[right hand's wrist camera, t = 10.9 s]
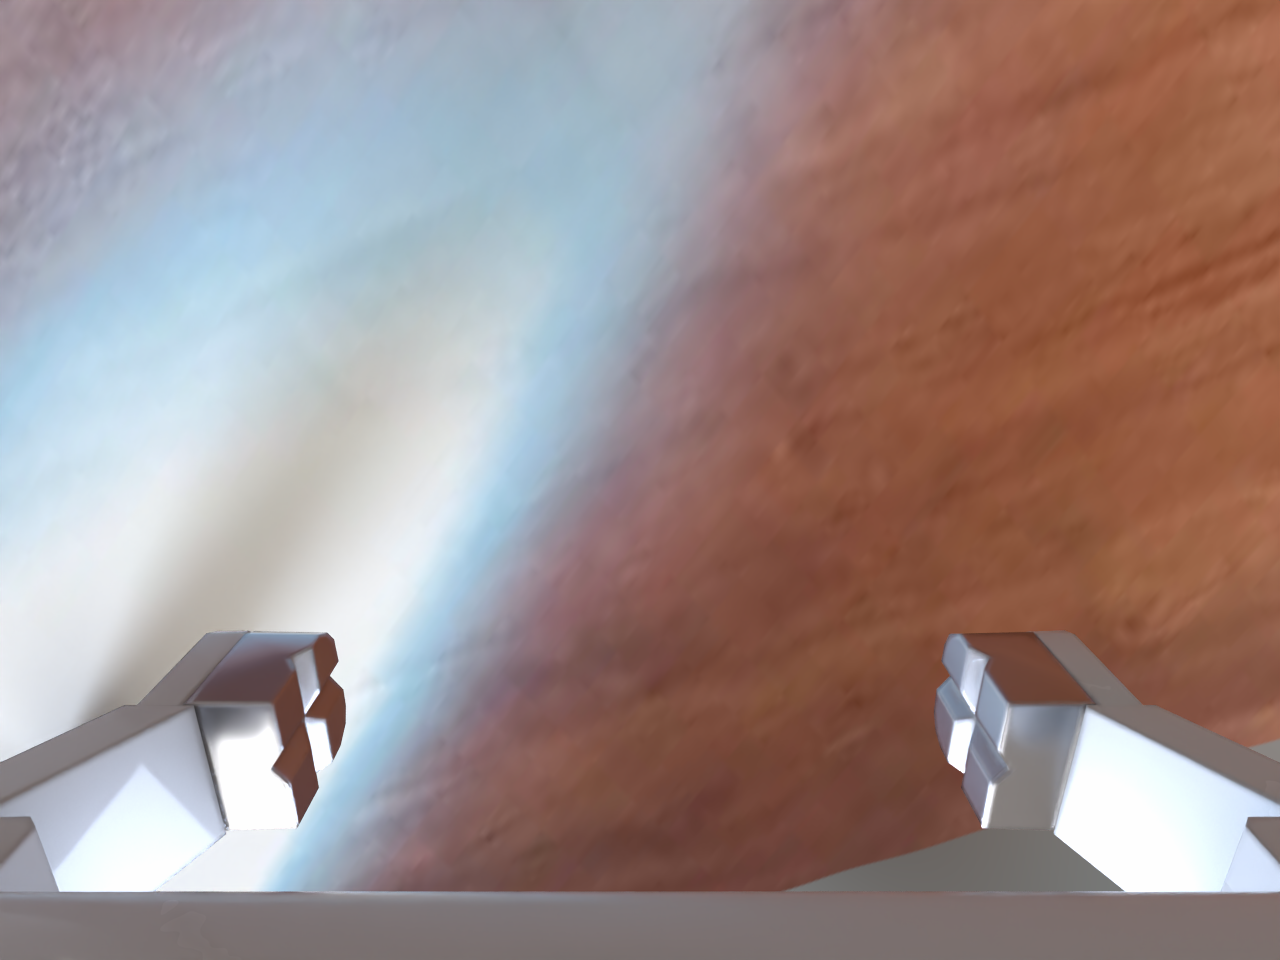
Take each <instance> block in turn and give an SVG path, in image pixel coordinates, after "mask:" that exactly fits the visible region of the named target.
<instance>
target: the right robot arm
mask: <svg viewBox="0 0 1280 960" xmlns="http://www.w3.org/2000/svg"><path fill="white" fill-rule="evenodd" d="M337 663H338V656H337V652H336V647H335V642H334V639H333V638H332V637H331V636H330V635H329V634H328V633H319V632H269V631H253V632H250V631H215V632H211V633H206V635H205V636H204V637H203V638H202V639H201V640H200V641H199V642H198V643H197V644H196V645H195V646H194V647H193V648H192V649H191V650H190V651H189V652H188V653H187V654H186V655H185V656H184V657H183V658H182V659H181V660H180V661H179V662H178V663H177V664H176V666H175V667H174V668H173V669H172V670H171V671H170V672H169V673H168V674H167V675H166V676H165V677H164V678H163V679H162V680H161V681H160V682H159V683H158V684H157V685H156V686H155V687H154V688H153V689H152V690H151V691H150V692H149V693H148V694H147V695H146V697H145V698H144V699H143V700H142V701H141V702H140V703H139V704H138V705H124V706H122V707H120V708H117V709H115V710H113V711H111V712H109V713H107V714H104V715H102V716H100V717H98V718H96V719H94V720H91V721H89V722H87V723H85V724H83V725H81V726H78V727H76V728H74V729H72V730H70V731H68V732H65V733H63V734H61V735H59V736H57V737H55V738H52V739H50V740H48V741H46V742H44V743H42V744H39V745H37V746H35V747H33V748H31V749H29V750H26V751H24V752H22V753H20V754H18V755H16V756H13V757H11V758H9V759H7V760H5V761H3V762H0V960H1280V763H1279V762H1277V761H1275V760H1273V759H1271V758H1268V757H1266V756H1264V755H1262V754H1260V753H1258V752H1255V751H1253V750H1251V749H1249V748H1247V747H1245V746H1242V745H1240V744H1238V743H1236V742H1234V741H1232V740H1230V739H1227V738H1225V737H1223V736H1221V735H1219V734H1217V733H1214V732H1212V731H1210V730H1208V729H1206V728H1204V727H1201V726H1199V725H1197V724H1195V723H1193V722H1191V721H1188V720H1186V719H1184V718H1182V717H1180V716H1178V715H1176V714H1173V713H1171V712H1169V711H1167V710H1165V709H1163V708H1160V707H1158V706H1156V705H1142V704H1141V703H1140V702H1139V701H1138V700H1137V699H1136V698H1135V696H1134V695H1133V694H1132V693H1131V692H1130V691H1129V690H1128V689H1127V688H1126V687H1125V686H1124V685H1123V684H1122V683H1121V682H1120V681H1119V680H1118V679H1117V678H1116V677H1115V676H1114V675H1113V674H1112V673H1111V672H1110V671H1109V670H1108V668H1107V667H1106V666H1105V665H1104V664H1103V663H1102V662H1101V661H1100V660H1099V659H1098V658H1097V657H1096V656H1095V655H1094V654H1093V653H1092V652H1091V651H1090V650H1089V649H1088V648H1087V647H1086V646H1085V645H1084V644H1083V643H1082V642H1081V641H1080V639H1079V638H1078V637H1077V636H1076V635H1075V634H1072V633H1070V632H1067V631H1065V630H1061V631H1035V632H1009V633H969V634H949V636H948V639H947V641H946V643H945V645H944V650H943V656H942V663H943V664H944V666H945V668H946V669H947V671H948V673H949V674H950V677H949V678H948V679H947V680H946V681H945V682H944V683H943V684H942V685H941V686H940V687H939V688H938V689H937V691H936V699H935V707H934V717H935V729H936V734H937V738H938V741H939V745H940V748H941V750H942V752H943V754H944V756H945V758H946V760H947V762H948V763H950V764H951V765H953V766H954V767H956V768H957V769H959V770H960V771H962V772H963V773H964V775H963V781H962V786H961V788H962V790H963V792H964V794H965V796H966V797H967V799H968V801H969V803H970V805H971V807H972V809H973V810H974V812H975V814H976V816H977V818H978V820H979V822H980V823H981V825H982V827H983V828H985V829H1021V830H1055V831H1054V834H1055V835H1056V836H1057V837H1059V838H1060V839H1061V840H1062V841H1064V842H1065V843H1066V844H1067V845H1069V846H1070V847H1071V848H1072V849H1074V850H1075V851H1076V852H1077V853H1079V854H1080V855H1081V856H1082V857H1084V858H1085V859H1086V860H1087V861H1089V862H1090V863H1091V864H1092V865H1094V866H1095V867H1096V868H1097V869H1098V870H1100V871H1101V872H1102V873H1103V874H1105V875H1106V876H1107V877H1108V878H1110V879H1111V880H1112V881H1113V882H1115V883H1116V884H1117V885H1118V886H1120V887H1121V888H1122V889H1123V890H1125V891H1126V892H154V891H156V890H157V889H158V888H159V887H161V886H162V885H163V884H164V883H166V882H167V881H168V880H169V879H171V878H172V877H173V876H174V875H176V874H177V873H178V872H179V871H181V870H182V869H183V868H184V867H186V866H187V865H188V864H189V863H191V862H192V861H193V860H194V859H196V858H197V857H198V856H199V855H201V854H202V853H203V852H204V851H206V850H207V849H208V848H209V847H211V846H212V845H213V844H214V843H216V842H217V841H218V840H219V839H220V838H222V837H223V836H224V835H225V834H226V831H225V830H258V829H293V828H297V827H298V825H299V824H300V822H301V820H302V818H303V816H304V814H305V812H306V811H307V809H308V807H309V805H310V803H311V801H312V799H313V797H314V796H315V794H316V792H317V790H318V788H319V786H318V781H317V775H316V773H317V772H318V771H320V770H321V769H323V768H324V767H326V766H327V765H329V764H330V763H331V762H333V760H334V758H335V756H336V754H337V752H338V750H339V748H340V745H341V741H342V737H343V732H344V728H345V724H346V704H345V698H344V691H343V689H342V688H341V687H340V686H339V685H338V684H337V683H336V682H335V681H334V680H333V679H332V678H331V677H330V674H331V673H332V671H333V669H334V668H335V666H336V664H337Z"/></svg>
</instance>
